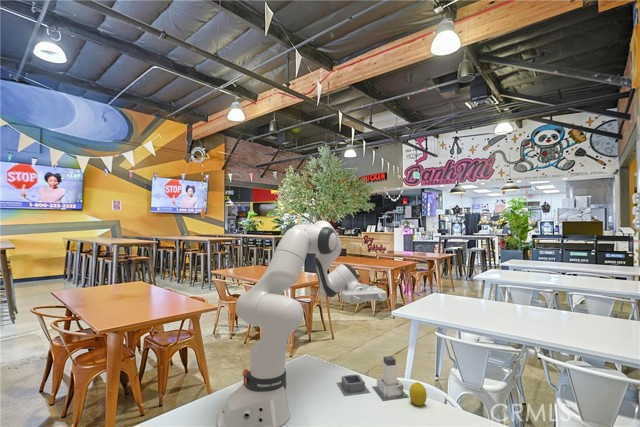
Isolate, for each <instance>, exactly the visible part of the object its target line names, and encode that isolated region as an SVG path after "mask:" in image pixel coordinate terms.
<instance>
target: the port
mask: <svg viewBox="0 0 640 427" xmlns="http://www.w3.org/2000/svg"><path fill="white" fill-rule="evenodd" d="M371 388H372V390H373V391H374V392H375V393H376V394H377V395H378V397H379V399H381V401H382V402H388V401H394V400H402V399H409V398H410V395H409V393H406V392H405V391H404V384H403V383H402V382H401V381H400V380H399V379H398V378H397V385H393V386H386V385H385V384H384V383H383V377H378V378H377V379H376V385H375V386H371Z"/></svg>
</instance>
